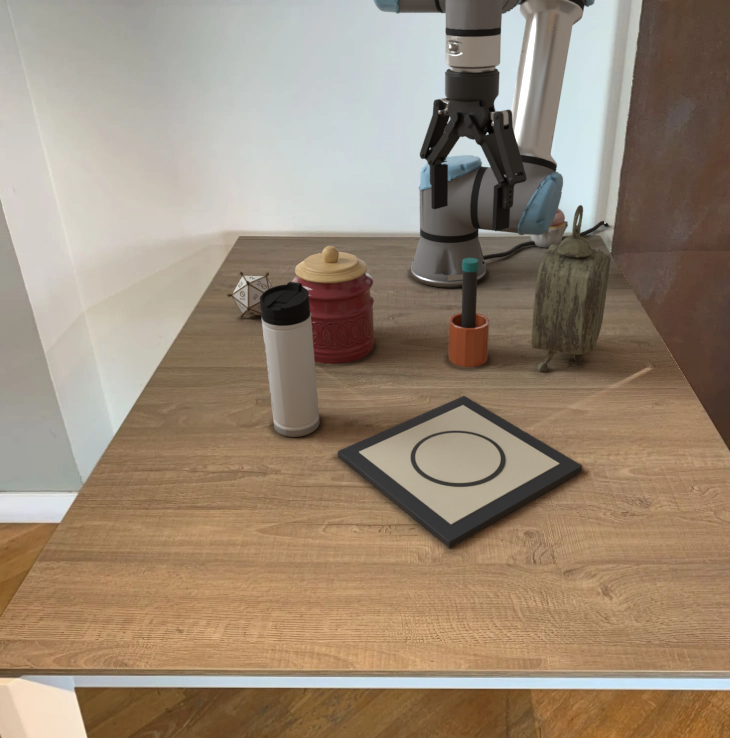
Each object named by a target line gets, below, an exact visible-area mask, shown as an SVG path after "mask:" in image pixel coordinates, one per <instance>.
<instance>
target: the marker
mask: <svg viewBox="0 0 730 738" xmlns="http://www.w3.org/2000/svg"><path fill="white" fill-rule="evenodd" d="M478 262H479V261H478V259H476V258H465V259H463V261H462V270H463V284H462V287H461V288H462V289H461V313H462V323H461V327H463V328H475V327H476V313H477V300H478V299H477V297H478V295H477V294H478V293H477V292H478V283H477V271H478Z"/></svg>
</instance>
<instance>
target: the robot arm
mask: <svg viewBox="0 0 730 738" xmlns="http://www.w3.org/2000/svg"><path fill="white" fill-rule="evenodd" d="M373 3H374V4H375V6H376V8H377V9H378V10H379V11H381V12H383V13H395V14H396V15H397V14H445V30H444V32H445V47H444V48H445V49H444V50H445V51H444V53H445V55H444V56H445V57H444V59H445V61H444V63H445V65H446V66H447V67H449V68H447V69H446V71H445V72H444V96H445V97H443V98H438V99H434V100H433V104H432V105H433V106H432V107H433V108H432V115H431V118H430V121H429V124H428V127H427V130H426V134H425V136H424V140H423V142H422V146H421V148H420V151H419V158H420V159H421V160H426V163H425V164H424V165H423V166H422V167H421V169H420V175H419V177H420V178H419V186H418V190H419V240H418V243H417V246H416V250H415V254H414V257H413V259H412V261H411V264H410V265H411V266H410V274H411V277H412V279H414V281H416V282H417V283H420V284H423V285H426V286H429V287H436V288H444V289H445V288H446V289H447V288H448V289H451V288H452V289H454V288H462V284H463V270H462V261H463V259H465V258H476V259H478V261H479V262H478V271H477V284H478V283H480V282H483V280H484V279H485V278H486V276H487V263H486V260H493V259H496V258H497V259H498V258H505V257H508V256H510V255H512V254H514V253H515V252H516V251H518V250H520V249H522V248H525V247H530V246H535V242H534V241H532V240H530V241H525V242H521V243H518V244H516V245H515V246H514V247H512V248H511V249H508V250H506V251H503V252H497V253H490V254H484V253H483V250H482V245H481V242H480V238H479V230H485V231H492V232H493V231H494V232H503V233H511V234H518V235H520V236H524V235H528V236H529V235H530V236H531V235H541V234H543V233H545V232H546V231H547V230H548V229H549V227H550V226H551V224H552V222H553V220H554V218H555V215H556V213H557V210H558V208H559V206H560V203H561V199H562V194H563V192H562V191H563V188H564V176H563V175H562V174H561V173H559V172H558V171H557V168H558V163H557V162H556V160H555V159H554V158H553V156H552V147H553V142H554V137H555V132H556V124H557V120H558V119H557V118H558V113H559V112H558V111H559V108H560V107H559V106H560V101H561V97H562V90H563V83H564V78H565V72H566V67H567V59H568V55H569V49H570V44H571V43H570V42H571V38H572V32H573V26H574V25H575V24H577V23H578V22H580V20H581V19H582V18H583V15H584V10H585V7H586V8H588V7H590V6H593V5H594V4H595V0H373ZM517 6H519V12H520V15H522V17H523V18H524V20H525V25H524V32H523V37H522V43H521V49H520V53H519V63H518V67H517V72H516V73H517V74H516V79H515V80H516V81H515V85H514V91H513V96H512V103H511V109H503V110H496V107H495V101H496V99H497V98H498V96H499V95H500V73H501V72H500V71H499V69H498V68H496V67H498V66H500V64H501V47H502V45H501V44H502V43H501V41H502V19H503V18H502V17H503V16H502V15H503V14H506V13H508V12H511V10H513V9H514V8H516V7H517ZM464 137H466V138H467V139H469V140H473V141H475V143H476V145H478V146H480V148H481V150H482V152H483V155H484V156H485V158H486V160H487V162H488V165H489V166H482V165H483V161H482V160H481V159H482V158H480V156H478V155H477V156H476V155H473V154H472V155H471V154H470V155H469V154H464V155H463V154H461V155H453V156H452V155H451V156H449V155H450V153H451V152H452V151H453V148H454V147H455V145H456V144H457V143H458V141H459V139H460V138H464ZM604 221H605V220H601V221H599V222H598V223H596V224H595V225H594V226H593V227H590V228H588V229H586V230H584V231H581V232H580V236H581V237H583V238H584V237H585V236H587V235H589V234H591V233H593V232H595V231H597V230H598V229H599V228H601V227H602V226H604V227H606V228H607V227H610V225H609V223H608V222H607V223H606V224H604ZM568 236H569V235H567V236H563V237H562V240H563V239H565V238H566V237H568ZM570 236H572V234H571V235H570ZM562 240H561V241H562Z"/></svg>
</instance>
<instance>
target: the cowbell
mask: <svg viewBox="0 0 730 738" xmlns="http://www.w3.org/2000/svg"><path fill="white" fill-rule="evenodd" d="M583 214H584V206H583V205H582V204H580V205H578V206H577V207H576V209H575V212H574V215H573V219H572V234H571V235H572V236H571V235H567V236H568V237H566V236H565V237H566V238H565V239H563V240H562V241H561V242H560V244H559V245H555V244H551V245H550V247H549V248H547V249H546V250H545V253H544V255H543V257H542V259H541V261H540V264H539V267H538V270H537V276H536V282H535V283H536V284H535V292H534V303H533V311H532V312H533V313H532V314H533V315H532V329H531V332H532V333H531V349H537V350H543V351H548V352H547V355H546V357H545V359H544V361H543V362H540V363H538V365H537V371H538V372H539V373H543V374H544V373H547V372H548V370H549V365H548V363H550V361H551V359H553V357H554V355H556V354H557V353H563V354H570V355H571V354H572V355H573V361H575V362H578V363H580V362H583V361H584V354H587V353H590V352H593V351H595V349H596V345H597V343H598V341H599V336H600V332H601V329H602V326H603V325H602V324H603V319H604V313H605V306H606V299H607V291H608V283H609V276H610V267H611V258H612V257H611V256H610V255H608V254H607V253H606V252H604V251H602V250H601V249H599V248H592V246H591V244H590V242H589V240H588V239H587V238H586V237H584V236H583V237H581V236H580V233H581V228H582V222H583V216H584V215H583Z"/></svg>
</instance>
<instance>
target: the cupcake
mask: <svg viewBox="0 0 730 738" xmlns="http://www.w3.org/2000/svg"><path fill="white" fill-rule="evenodd" d="M568 226H569V222H568V220H567V221H566V216H565V214H564V211H563V210H561V209H560V208H559V207H558V210H557V213H556V215H555V218H554V220H553V222H552V224H551V226H550V227H549V229H548V230H547V231H546V232H545V233H543V234H541V235H530V241H534V242H535V245H534V246H535V247H538V248H544V249H548V248H549V247H550V245H551V244H555V245H559V244H560V242H561V240H562V237H564V234H565V232H566V230H567V228H568Z"/></svg>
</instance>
